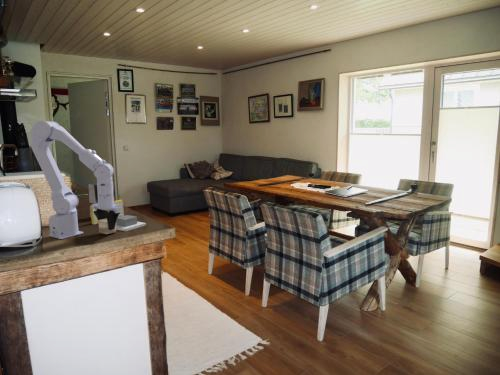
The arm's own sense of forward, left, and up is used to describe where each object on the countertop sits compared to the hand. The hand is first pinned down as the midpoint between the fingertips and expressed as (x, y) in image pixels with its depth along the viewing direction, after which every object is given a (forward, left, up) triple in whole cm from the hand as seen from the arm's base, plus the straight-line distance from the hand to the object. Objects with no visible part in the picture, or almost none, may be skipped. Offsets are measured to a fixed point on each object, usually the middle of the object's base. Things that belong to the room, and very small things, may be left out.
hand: (107, 228), depth 141 cm
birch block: (0, 0, -1) cm, 1 cm away
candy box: (+14, +18, -2) cm, 23 cm away
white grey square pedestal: (+11, +2, -2) cm, 11 cm away
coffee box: (+17, +26, -2) cm, 31 cm away
